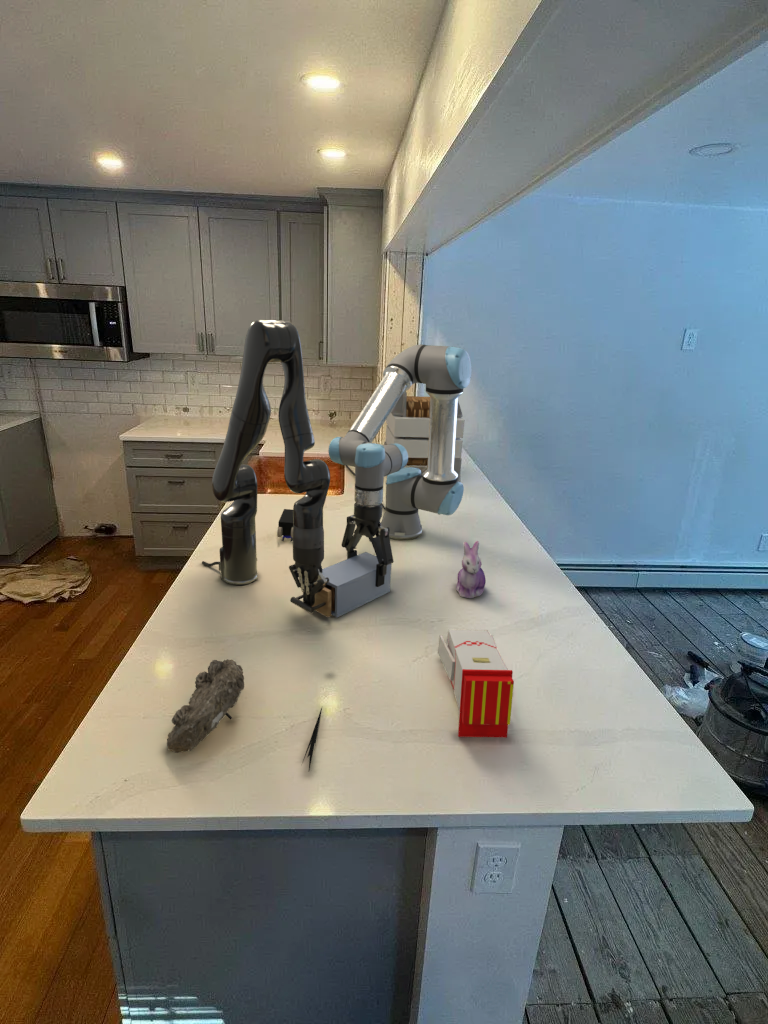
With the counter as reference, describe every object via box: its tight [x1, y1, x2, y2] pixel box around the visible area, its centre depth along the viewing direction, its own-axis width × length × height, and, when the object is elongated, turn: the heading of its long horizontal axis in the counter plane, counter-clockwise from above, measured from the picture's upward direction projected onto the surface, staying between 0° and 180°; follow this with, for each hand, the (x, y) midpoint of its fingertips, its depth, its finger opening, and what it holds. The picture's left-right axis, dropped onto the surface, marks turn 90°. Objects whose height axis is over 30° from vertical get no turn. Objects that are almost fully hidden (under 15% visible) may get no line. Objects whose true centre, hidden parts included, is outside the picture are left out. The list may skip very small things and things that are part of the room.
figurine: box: [455, 540, 487, 599], centre depth 158 cm, size 9×10×15 cm
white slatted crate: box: [383, 391, 465, 482], centre depth 268 cm, size 34×33×41 cm
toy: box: [437, 628, 515, 738], centre depth 117 cm, size 12×13×30 cm
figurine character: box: [276, 508, 293, 543], centre depth 192 cm, size 7×8×15 cm
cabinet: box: [322, 551, 393, 618], centre depth 153 cm, size 20×10×9 cm, turn 138°
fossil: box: [166, 658, 245, 754], centre depth 106 cm, size 22×10×15 cm
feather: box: [301, 673, 332, 771], centre depth 108 cm, size 2×28×2 cm
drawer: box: [289, 584, 335, 618], centre depth 149 cm, size 25×9×7 cm, turn 138°
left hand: (309, 605), depth 142 cm, fingers closed
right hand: (365, 578), depth 157 cm, fingers closed on cabinet, 10 cm apart
